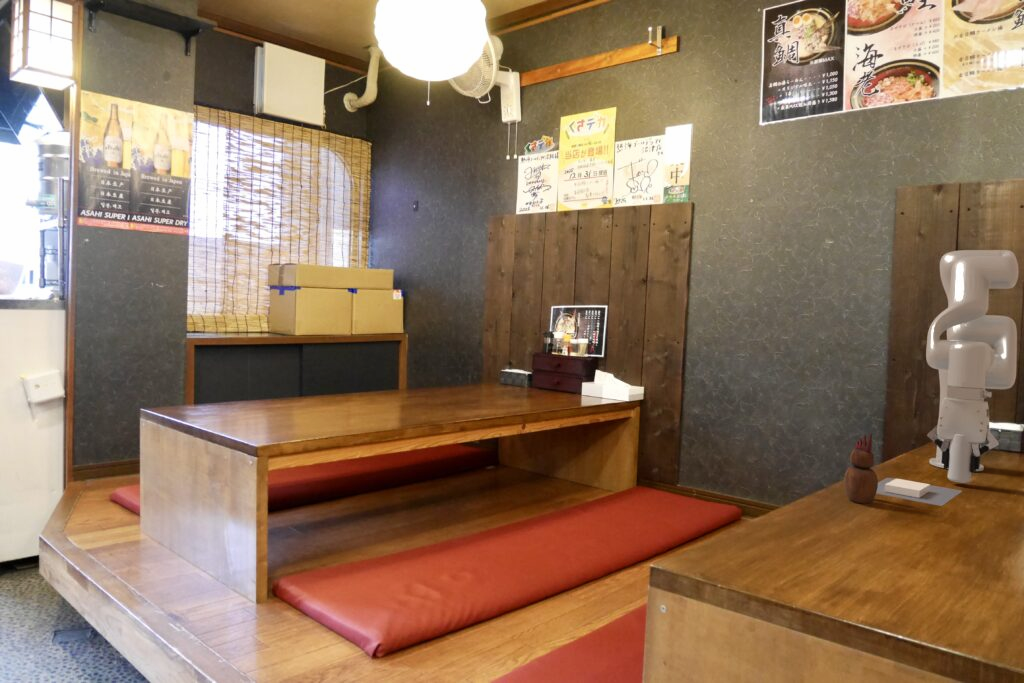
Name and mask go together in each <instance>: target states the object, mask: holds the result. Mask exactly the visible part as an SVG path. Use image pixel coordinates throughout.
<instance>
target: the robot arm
mask: <svg viewBox="0 0 1024 683" xmlns="http://www.w3.org/2000/svg"><path fill="white" fill-rule="evenodd" d="M939 274H940V280H941V283H942V286H943V289H944V292H945V294H946V298H947V304H948V305H947V308H945V309H944V310H943V311H941V312H940V313H939V314H938V315H937V316H936V317H935V318H934V319H933V321H932V322H931V324H930V326H929V329H928V330H927V331H928V332H927V338H926V348H925V349H926V350H925V351H926V352H925V357H926V363H927V365H928V366H929V367H931V368H932V369H935V370H938V378H939V408H938V409H939V410H938V411H939V412H938V420H937V425H935V426H934V428H932V430H930V431H929V432H928V433H927V434H926V436H927V437H928V438H929V439H930V440H931V441H932V442H933V443H934V444H935V445H936V453H935V457H931V458H929V460H928V461H929V464H930V465H932V466H934V467H938V468H942V469H947V470H948V462H949V447H950V440H953V438H954V435H955V434H960V433H958V432H961V435H964V436H966V439H967V442H969V443H971V444H972V448H973V456H971V467H970V472H971V473H972V474H974V473H976V472H983V471H984V468H985V466H984V465H983V464H981V455H983V454H984V453H986V452H987V451H990V450H992V449H994V448H995V447H997V446H999V441H998V440H997V439H996V437H995V436H994V435H993V434H992V432H991V431H990V409H989V408H990V407H989V402H988V401H984V400H985V399H987V398H992V391H988V390H986V389H991V390H1008V389H1010V388H1013V386H1014V384H1015V382H1016V378H1017V360H1018V358H1017V356H1018V355H1017V354H1018V348H1017V347H1018V333H1017V332H1018V331H1017V325H1016V322H1015V321H1014V320H1013V319H1012V318H1011V317H1009V316H1006V315H997V314H995V315H993V314H992V315H991V314H989V315H988V314H987V313H988V311H989V303H990V302H989V299H990V298H989V296H990V295H989V294H990V293H989V292H990V289H991V290H993V289H995V290H1000V289H1001V290H1002V289H1003V290H1010V289H1012V288H1014V287H1015V286H1016V284H1017V282H1018V279H1019V263H1018V260H1017V257H1016V255H1015V253H1014V252H1013V251H1012V250H1009V249H964V250H954V251H953V250H952V251H950V252H949V251H948V252H946V253H944V254H943V256H941V258H940V260H939ZM945 331H946V339H940V337H941V335H942V334H943V333H944V332H945ZM985 442H988V443H987V444H985ZM981 444H985V445H984V446H981Z"/></svg>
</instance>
